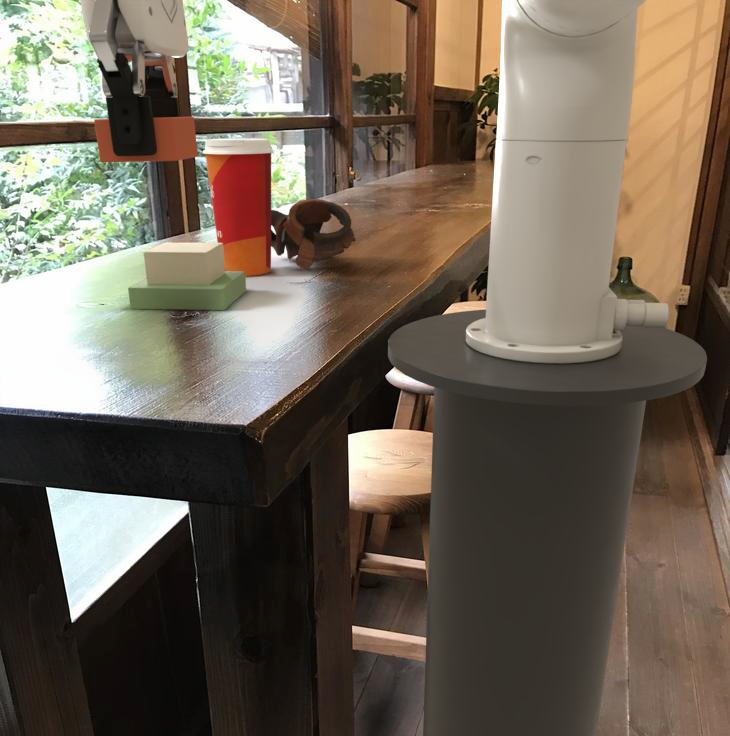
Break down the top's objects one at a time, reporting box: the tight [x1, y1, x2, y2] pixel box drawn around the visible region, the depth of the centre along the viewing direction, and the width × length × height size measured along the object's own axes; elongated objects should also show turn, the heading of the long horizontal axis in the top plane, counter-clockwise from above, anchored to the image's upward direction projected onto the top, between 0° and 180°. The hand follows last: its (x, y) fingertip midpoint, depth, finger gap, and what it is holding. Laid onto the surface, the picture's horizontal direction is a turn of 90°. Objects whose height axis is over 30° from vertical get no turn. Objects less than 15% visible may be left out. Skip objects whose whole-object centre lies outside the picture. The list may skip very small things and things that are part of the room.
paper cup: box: [201, 137, 275, 277], centre depth 90 cm, size 8×8×14 cm
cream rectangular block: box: [143, 241, 225, 285], centre depth 78 cm, size 6×6×3 cm
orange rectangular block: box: [94, 116, 199, 163], centre depth 63 cm, size 6×6×3 cm
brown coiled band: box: [271, 198, 356, 271], centre depth 96 cm, size 12×10×8 cm
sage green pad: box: [127, 271, 247, 311], centre depth 79 cm, size 9×9×2 cm
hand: (150, 150), depth 64 cm, fingers closed on orange rectangular block, 6 cm apart
